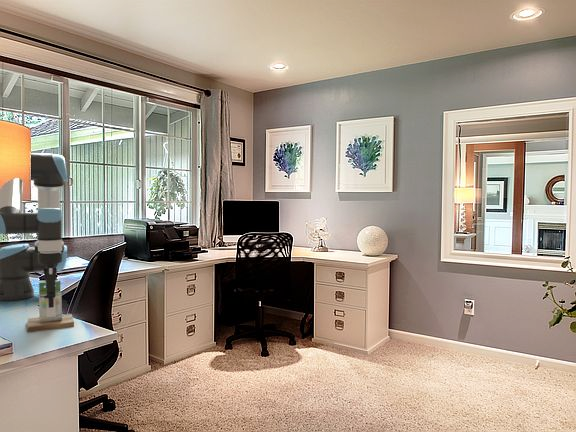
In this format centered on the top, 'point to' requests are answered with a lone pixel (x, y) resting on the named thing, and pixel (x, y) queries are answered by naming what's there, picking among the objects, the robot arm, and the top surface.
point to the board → (50, 323)
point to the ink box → (42, 302)
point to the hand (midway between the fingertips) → (50, 311)
